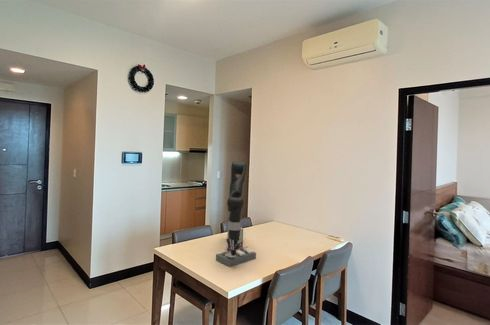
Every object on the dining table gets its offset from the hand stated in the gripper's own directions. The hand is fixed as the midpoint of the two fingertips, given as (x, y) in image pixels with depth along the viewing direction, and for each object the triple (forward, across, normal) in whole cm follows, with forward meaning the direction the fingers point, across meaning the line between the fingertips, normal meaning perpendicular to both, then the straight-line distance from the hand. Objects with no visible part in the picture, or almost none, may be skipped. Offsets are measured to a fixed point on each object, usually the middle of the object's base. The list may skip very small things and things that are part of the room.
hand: (233, 255), depth 177 cm
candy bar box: (+6, +21, -20) cm, 30 cm away
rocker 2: (+1, +3, -8) cm, 9 cm away
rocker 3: (+1, +3, -16) cm, 16 cm away
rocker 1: (+1, +3, 0) cm, 3 cm away
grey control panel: (+6, +6, -8) cm, 12 cm away
